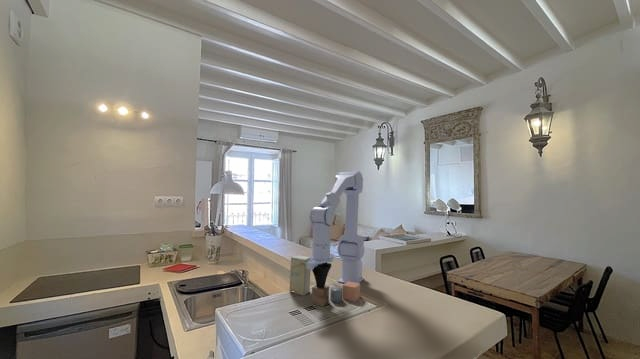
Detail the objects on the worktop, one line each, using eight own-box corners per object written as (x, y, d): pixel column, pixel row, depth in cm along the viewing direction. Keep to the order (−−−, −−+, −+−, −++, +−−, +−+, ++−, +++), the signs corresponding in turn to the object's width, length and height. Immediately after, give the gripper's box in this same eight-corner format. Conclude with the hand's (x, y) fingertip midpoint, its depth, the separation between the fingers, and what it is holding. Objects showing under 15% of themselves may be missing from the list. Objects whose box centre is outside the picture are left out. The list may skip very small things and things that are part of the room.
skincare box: (289, 292, 88) (289, 257, 88) (296, 288, 92) (296, 254, 92) (304, 295, 85) (305, 259, 85) (310, 291, 89) (311, 256, 89)
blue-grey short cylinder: (333, 296, 84) (333, 286, 85) (344, 299, 82) (344, 288, 83) (328, 301, 81) (328, 290, 81) (339, 303, 79) (339, 292, 79)
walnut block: (318, 299, 82) (318, 283, 83) (328, 301, 80) (329, 286, 81) (311, 303, 79) (312, 287, 79) (322, 306, 77) (323, 290, 77)
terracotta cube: (347, 294, 87) (348, 281, 87) (360, 297, 85) (360, 283, 85) (342, 298, 83) (342, 285, 83) (355, 301, 81) (355, 287, 81)
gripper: (321, 249, 72) (320, 297, 72) (341, 241, 85) (341, 282, 84) (301, 246, 76) (300, 292, 75) (323, 239, 89) (323, 278, 88)
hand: (320, 287), depth 80 cm, fingers closed, pressing on walnut block
